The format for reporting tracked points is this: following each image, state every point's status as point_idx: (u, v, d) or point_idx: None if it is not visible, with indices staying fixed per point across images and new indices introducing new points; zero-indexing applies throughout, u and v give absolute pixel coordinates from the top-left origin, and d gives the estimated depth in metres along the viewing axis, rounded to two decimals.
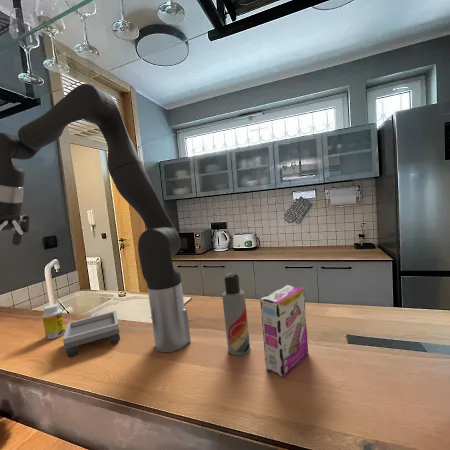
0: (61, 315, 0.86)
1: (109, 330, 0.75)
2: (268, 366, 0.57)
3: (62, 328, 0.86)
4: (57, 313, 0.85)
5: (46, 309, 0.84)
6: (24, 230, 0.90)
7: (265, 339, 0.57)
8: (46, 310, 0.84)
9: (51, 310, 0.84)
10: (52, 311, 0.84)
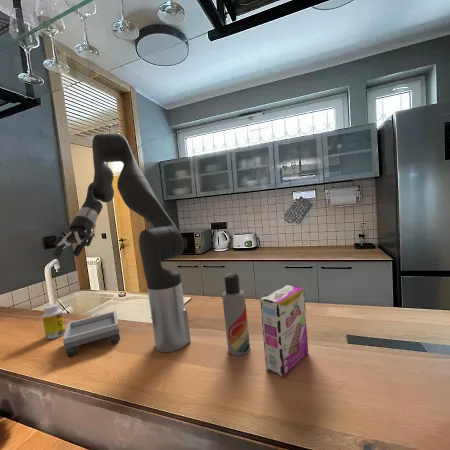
0: (61, 315, 0.86)
1: (109, 330, 0.75)
2: (268, 366, 0.57)
3: (62, 328, 0.86)
4: (57, 313, 0.85)
5: (46, 309, 0.84)
6: None
7: (265, 339, 0.57)
8: (46, 310, 0.84)
9: (52, 310, 0.84)
10: (52, 311, 0.84)
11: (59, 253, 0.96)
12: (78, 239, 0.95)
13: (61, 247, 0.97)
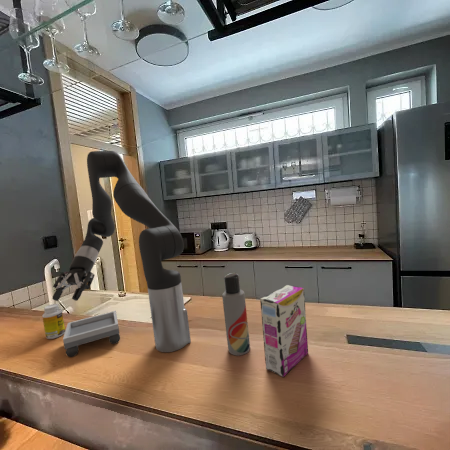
0: (61, 315, 0.86)
1: (109, 330, 0.75)
2: (268, 366, 0.57)
3: (62, 328, 0.86)
4: (57, 313, 0.85)
5: (46, 309, 0.84)
6: None
7: (265, 339, 0.57)
8: (46, 310, 0.84)
9: (51, 310, 0.84)
10: (52, 311, 0.84)
11: (58, 296, 0.93)
12: (78, 282, 0.93)
13: (60, 289, 0.94)
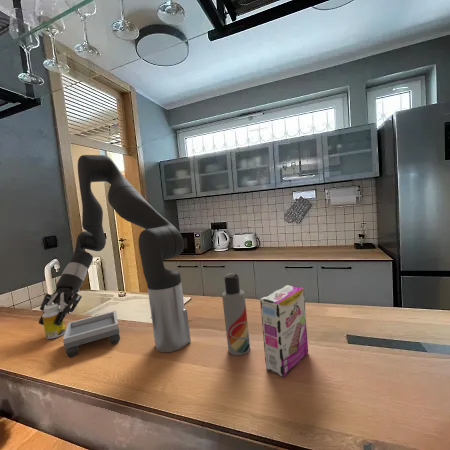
0: None
1: (109, 330, 0.75)
2: (268, 366, 0.57)
3: (62, 328, 0.86)
4: (57, 313, 0.85)
5: (46, 309, 0.84)
6: None
7: (265, 339, 0.57)
8: (46, 310, 0.84)
9: (51, 310, 0.84)
10: (52, 311, 0.84)
11: None
12: (62, 304, 0.86)
13: None
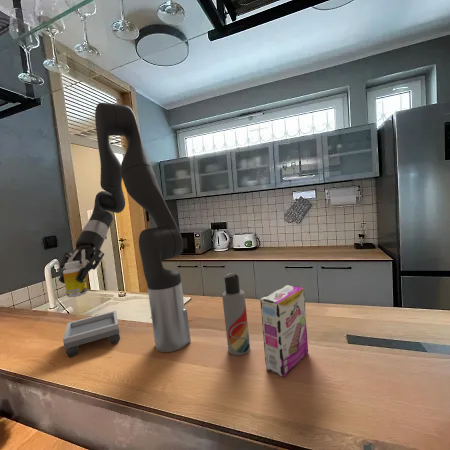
0: None
1: (109, 330, 0.75)
2: (268, 366, 0.57)
3: (84, 286, 0.79)
4: (79, 269, 0.78)
5: (67, 264, 0.77)
6: None
7: (265, 339, 0.57)
8: (67, 266, 0.77)
9: (73, 265, 0.77)
10: (74, 267, 0.77)
11: None
12: (84, 260, 0.79)
13: None
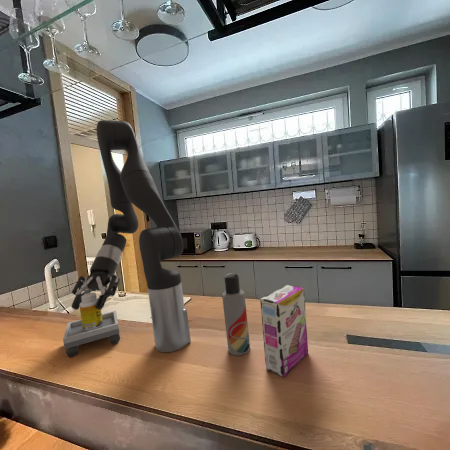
0: None
1: (109, 330, 0.75)
2: (268, 366, 0.57)
3: (100, 319, 0.78)
4: (95, 303, 0.77)
5: (84, 298, 0.76)
6: None
7: (265, 339, 0.57)
8: (84, 299, 0.76)
9: (90, 299, 0.77)
10: (90, 300, 0.77)
11: (78, 304, 0.79)
12: (101, 287, 0.79)
13: None
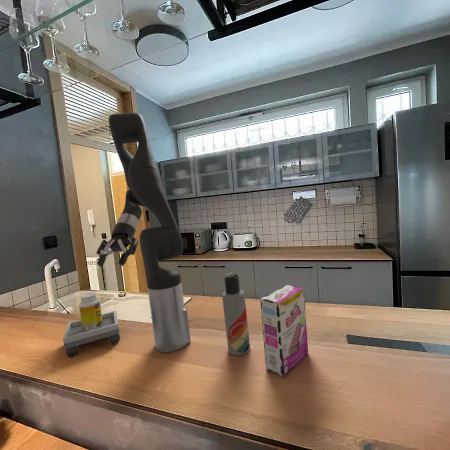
0: (99, 305, 0.79)
1: (109, 330, 0.75)
2: (268, 366, 0.57)
3: (100, 319, 0.78)
4: (95, 303, 0.77)
5: (83, 298, 0.76)
6: None
7: (265, 339, 0.57)
8: (83, 299, 0.76)
9: (89, 299, 0.77)
10: (90, 300, 0.77)
11: (102, 262, 0.91)
12: (123, 247, 0.90)
13: (104, 256, 0.92)
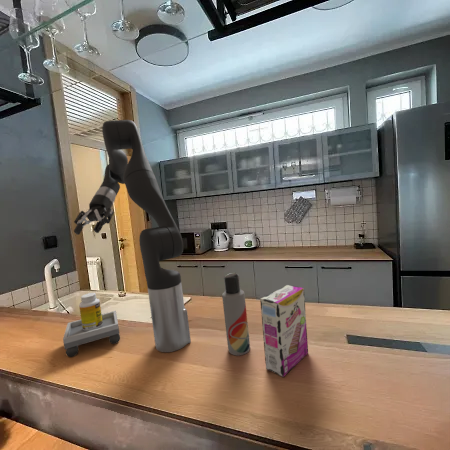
0: (99, 305, 0.79)
1: (109, 330, 0.75)
2: (268, 366, 0.57)
3: (100, 319, 0.78)
4: (95, 303, 0.77)
5: (84, 298, 0.76)
6: None
7: (265, 339, 0.57)
8: (84, 299, 0.76)
9: (89, 299, 0.77)
10: (90, 300, 0.77)
11: (79, 230, 0.96)
12: (98, 216, 0.96)
13: (81, 225, 0.97)
